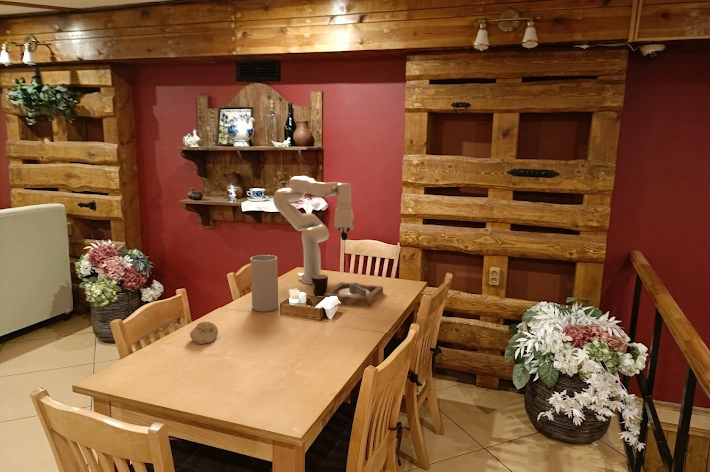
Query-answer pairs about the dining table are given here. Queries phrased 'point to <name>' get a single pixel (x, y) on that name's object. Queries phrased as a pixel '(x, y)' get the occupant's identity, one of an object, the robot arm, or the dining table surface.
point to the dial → (354, 290)
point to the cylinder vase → (264, 283)
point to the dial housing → (354, 300)
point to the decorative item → (204, 332)
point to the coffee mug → (319, 284)
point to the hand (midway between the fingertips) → (344, 239)
